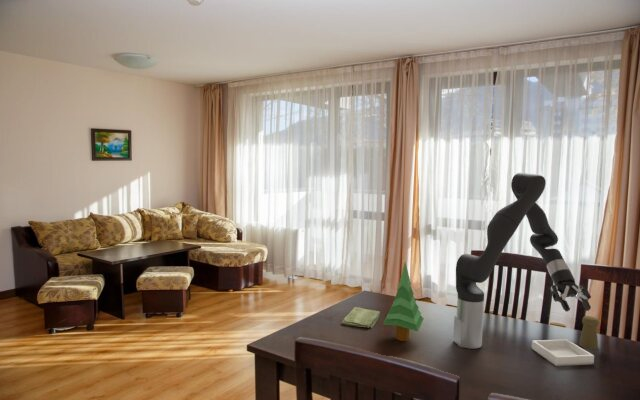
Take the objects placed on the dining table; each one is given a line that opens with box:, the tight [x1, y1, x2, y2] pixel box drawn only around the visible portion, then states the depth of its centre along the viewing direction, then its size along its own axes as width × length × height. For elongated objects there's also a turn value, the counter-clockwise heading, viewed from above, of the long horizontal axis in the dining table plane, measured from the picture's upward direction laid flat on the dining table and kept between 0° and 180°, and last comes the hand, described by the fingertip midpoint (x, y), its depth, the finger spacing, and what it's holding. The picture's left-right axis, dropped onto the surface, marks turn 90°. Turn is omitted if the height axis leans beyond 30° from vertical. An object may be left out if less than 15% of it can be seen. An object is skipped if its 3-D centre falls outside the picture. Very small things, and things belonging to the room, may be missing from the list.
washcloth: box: [341, 306, 381, 329], centre depth 186 cm, size 13×18×3 cm
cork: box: [578, 315, 600, 350], centre depth 163 cm, size 6×6×11 cm
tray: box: [531, 338, 595, 367], centre depth 154 cm, size 14×14×3 cm
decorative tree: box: [382, 261, 424, 342], centre depth 166 cm, size 14×16×30 cm
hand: (578, 310), depth 169 cm, fingers open, 8 cm apart
